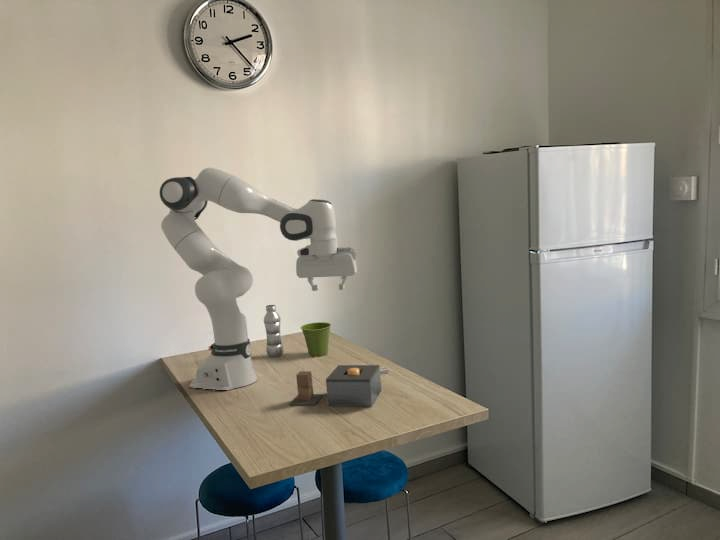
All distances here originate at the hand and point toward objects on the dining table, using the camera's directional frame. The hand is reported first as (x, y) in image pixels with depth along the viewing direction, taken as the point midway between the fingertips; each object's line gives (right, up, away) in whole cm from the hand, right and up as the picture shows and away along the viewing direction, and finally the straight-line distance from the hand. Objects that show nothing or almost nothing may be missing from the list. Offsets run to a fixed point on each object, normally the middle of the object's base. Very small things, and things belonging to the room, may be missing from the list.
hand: (328, 289), depth 188 cm
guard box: (+9, -31, -20) cm, 38 cm away
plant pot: (-5, -26, +30) cm, 40 cm away
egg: (+9, -29, -20) cm, 36 cm away
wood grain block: (-6, -32, -19) cm, 37 cm away
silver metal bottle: (-22, -27, +33) cm, 48 cm away
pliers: (+13, -29, +1) cm, 32 cm away
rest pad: (-5, -32, -19) cm, 38 cm away
